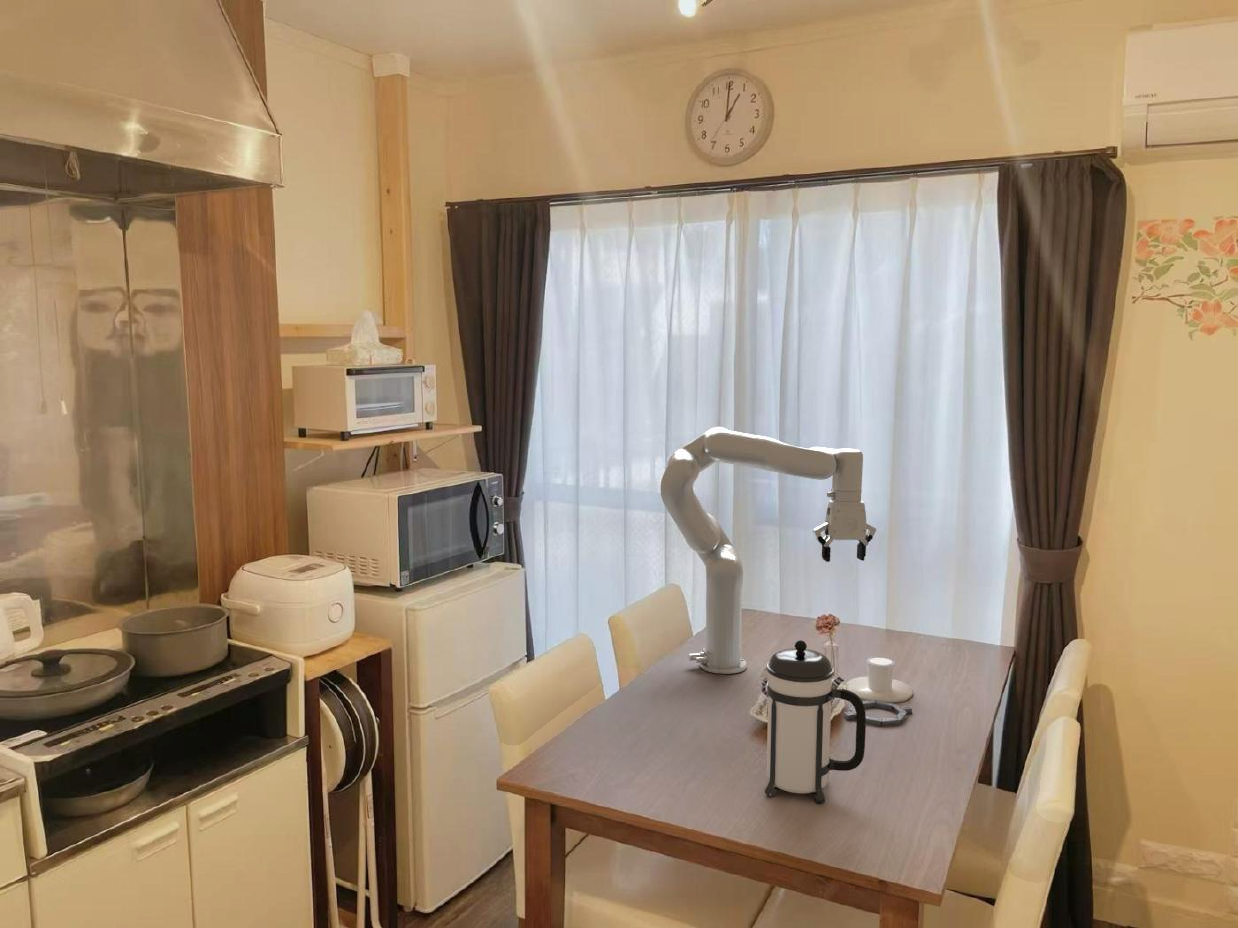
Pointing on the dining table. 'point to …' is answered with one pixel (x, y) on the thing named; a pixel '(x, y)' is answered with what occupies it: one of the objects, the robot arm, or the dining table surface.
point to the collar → (896, 709)
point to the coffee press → (804, 722)
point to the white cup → (880, 673)
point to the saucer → (895, 695)
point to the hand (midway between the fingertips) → (843, 560)
